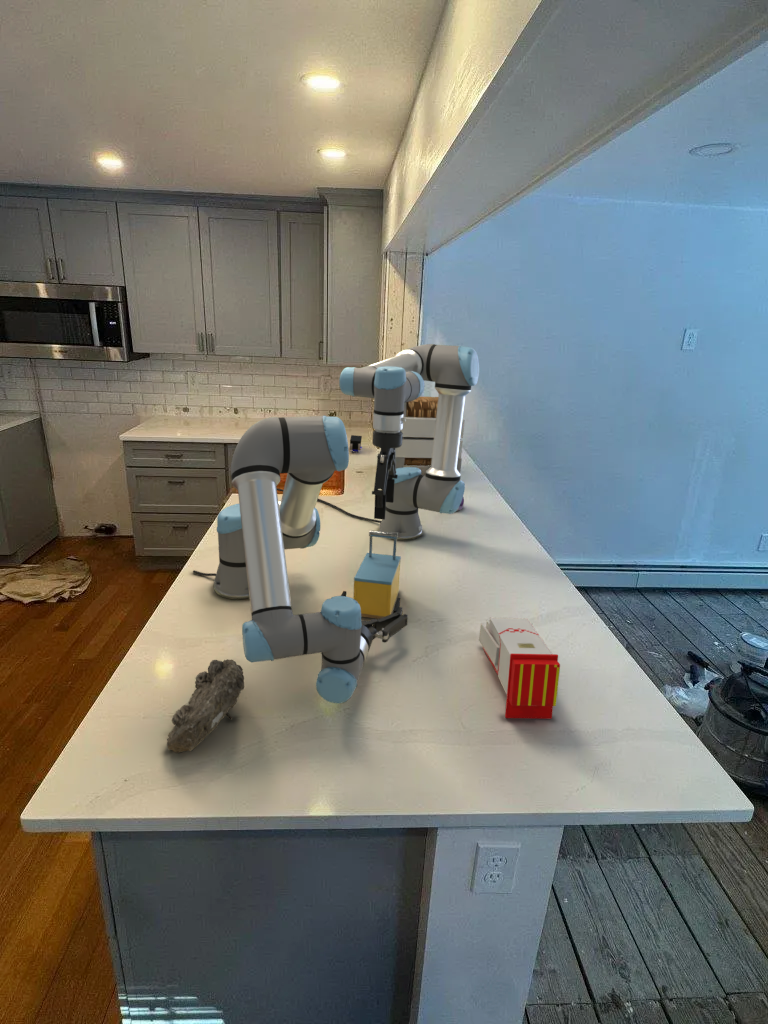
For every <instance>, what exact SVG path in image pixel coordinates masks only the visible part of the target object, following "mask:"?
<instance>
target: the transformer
mask: <svg viewBox="0 0 768 1024" xmlns="http://www.w3.org/2000/svg"><path fill="white" fill-rule="evenodd" d="M437 405H438V396H420V397H418V398H416V399H415V400H414V401H413V400H412V401H409V402H405V403H404V414H403V418H405V419H406V421H405V422H403V429H402V430H401V432H402V433H403V436H402V446H401V447H399V448H395V454H396V469H397V468H403V467H405V466H406V467H417V466H418V467H431V461H432V452H433V442H434V433H435V424H436V415H437ZM464 429H465V419H464V418H463V420H462V428H461V436H460V444H459V453H458V461H457V471H458V472H459V473H460V475H461V472H462V461H463V460H462V453H463V442H464V441H463V440H462V439H463V438H464V431H465V430H464Z"/></svg>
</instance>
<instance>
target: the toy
mask: <svg viewBox="0 0 768 1024" xmlns="http://www.w3.org/2000/svg"><path fill="white" fill-rule="evenodd" d="M478 642H479V644H480V645H481V647H482V649H483V651H484V653H485V655H486V656H487V659H488V661H489V662H490V664H491V666H492V667H493V669H494V671H495V673H496V675H497V678H498V679H499V682H500V684H501V686H502V688H503V690H504V692H505V694H506V695H505V696H506V701H505V711H504V717H505V719H535V720H536V719H537V720H538V719H539V720H540V719H541V720H552V719H553V710H554V707H556V706H557V699H558V691H559V682H560V681H559V679H560V670H561V664H560V662H559V655H558V654H555V653H552V651H551V649H550V648H549V647H548V645H547V643H545V641H544V640H543V638H542V637H541V636H540V634H539V633H538V631H537V630H536V628H535V626H534V625H533V623H532V622H531V621H530V620H529V618H528V617H493V616H492V617H489V619H486V623H485V624H484V623H482V622H481V623H480V627H479V635H478Z"/></svg>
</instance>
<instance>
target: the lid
mask: <svg viewBox="0 0 768 1024" xmlns="http://www.w3.org/2000/svg"><path fill="white" fill-rule="evenodd" d="M368 537H369V541H368V542H369V545H368V552H366V554H365V556H364V557H363V559H362V562H361V564H360V565H359V568H358V570H357V571H356V573H355V575H354V578H353V582H354V581H361V582H370V583H378V584H387V585H392V582H393V579H394V576H395V574H396V571H397V568H398V565H399V562H400V563H401V559H402V556H401V555H400V556H399V555H397V541H398V540H397V538H398V533H392V532H382V531H379V530H372V529H369V531H368ZM374 538H382V539H389V540H393V546H392V547H393V549H392V550H393V552H392V555H391V554H382V553H375V552H373V539H374Z"/></svg>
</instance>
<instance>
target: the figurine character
mask: <svg viewBox="0 0 768 1024" xmlns="http://www.w3.org/2000/svg"><path fill="white" fill-rule="evenodd" d="M362 439H363V436H362V435H353V434H351V435H350V440H349V451H351V454H353V453H357V454H359V451H361V449H362V448H363V446H362Z"/></svg>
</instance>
